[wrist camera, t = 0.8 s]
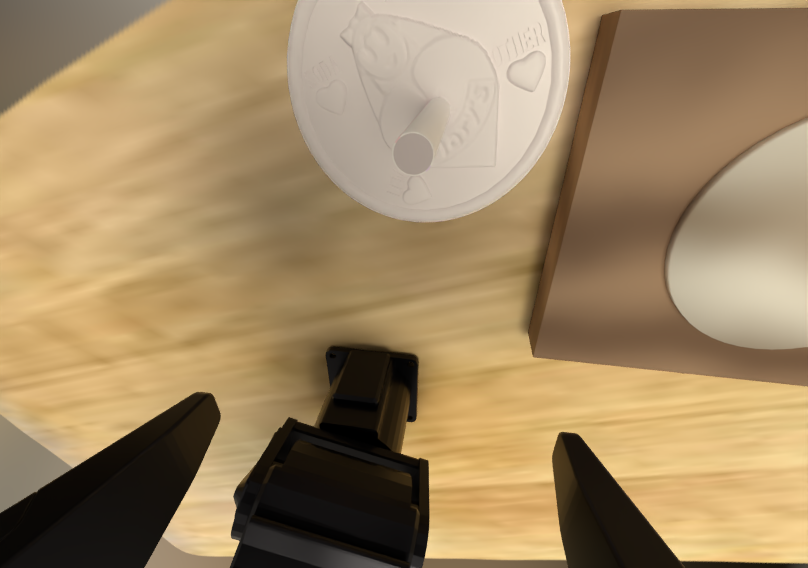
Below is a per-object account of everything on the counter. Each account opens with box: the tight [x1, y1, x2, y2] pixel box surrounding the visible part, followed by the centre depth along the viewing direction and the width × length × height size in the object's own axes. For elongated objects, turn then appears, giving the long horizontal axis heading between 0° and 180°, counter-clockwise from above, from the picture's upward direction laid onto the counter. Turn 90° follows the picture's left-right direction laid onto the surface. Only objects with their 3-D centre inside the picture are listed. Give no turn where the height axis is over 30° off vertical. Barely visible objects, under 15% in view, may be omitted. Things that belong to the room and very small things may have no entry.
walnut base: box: [528, 8, 808, 386], centre depth 16 cm, size 16×20×3 cm
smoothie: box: [287, 0, 570, 222], centre depth 10 cm, size 6×6×14 cm
